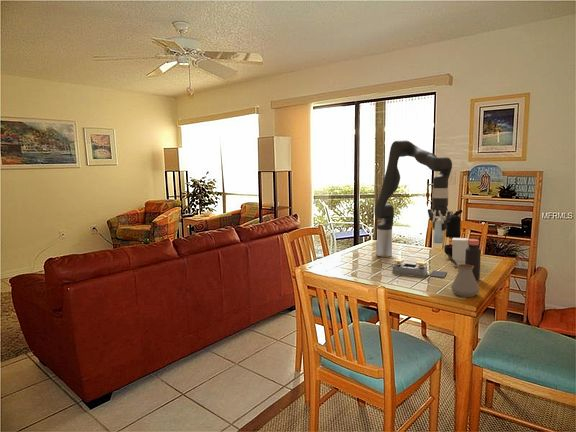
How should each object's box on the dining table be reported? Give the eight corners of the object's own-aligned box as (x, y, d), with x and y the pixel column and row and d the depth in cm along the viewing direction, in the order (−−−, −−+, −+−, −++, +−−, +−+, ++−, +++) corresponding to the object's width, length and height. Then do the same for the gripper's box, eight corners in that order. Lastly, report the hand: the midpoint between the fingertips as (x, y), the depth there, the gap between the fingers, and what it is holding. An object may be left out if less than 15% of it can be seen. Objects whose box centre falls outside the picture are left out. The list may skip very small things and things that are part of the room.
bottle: (472, 281, 183) (474, 241, 180) (461, 278, 189) (462, 239, 187) (482, 279, 186) (484, 240, 183) (471, 276, 192) (472, 238, 189)
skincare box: (467, 264, 213) (468, 238, 211) (468, 267, 207) (469, 240, 205) (451, 263, 217) (452, 237, 215) (451, 266, 211) (452, 239, 209)
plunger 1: (393, 269, 203) (393, 260, 202) (395, 267, 207) (395, 258, 206) (401, 270, 201) (401, 261, 200) (403, 267, 204) (403, 259, 204)
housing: (392, 273, 201) (392, 266, 200) (397, 268, 209) (397, 261, 209) (423, 277, 193) (423, 269, 192) (427, 272, 201) (427, 265, 201)
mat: (429, 276, 194) (429, 275, 194) (432, 271, 202) (432, 270, 202) (444, 278, 190) (444, 277, 190) (446, 272, 199) (446, 272, 199)
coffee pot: (485, 297, 162) (486, 263, 160) (460, 299, 160) (461, 265, 158) (457, 282, 183) (458, 252, 181) (434, 284, 181) (435, 254, 179)
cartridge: (438, 243, 191) (440, 220, 190) (431, 242, 195) (433, 219, 193) (444, 243, 193) (446, 220, 192) (437, 241, 197) (439, 219, 196)
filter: (456, 256, 234) (457, 208, 230) (464, 259, 225) (466, 210, 221) (435, 257, 232) (436, 209, 228) (443, 260, 223) (444, 211, 219)
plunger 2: (416, 271, 197) (416, 262, 196) (417, 269, 201) (418, 260, 200) (425, 272, 195) (425, 263, 194) (426, 270, 198) (426, 261, 198)
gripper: (423, 196, 195) (423, 228, 198) (447, 198, 183) (446, 232, 185) (433, 195, 199) (432, 227, 201) (457, 197, 187) (456, 230, 189)
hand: (439, 229), depth 193 cm, fingers closed on cartridge, 4 cm apart
